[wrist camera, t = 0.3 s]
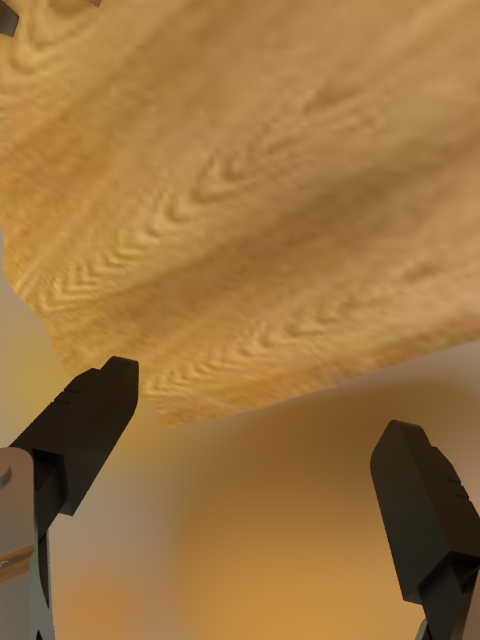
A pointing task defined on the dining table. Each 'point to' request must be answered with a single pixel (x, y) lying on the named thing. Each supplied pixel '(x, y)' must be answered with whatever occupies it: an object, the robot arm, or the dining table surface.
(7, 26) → the book slot
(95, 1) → the reddish pink rectangular block
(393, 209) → the dining table surface
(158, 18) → the dining table surface
